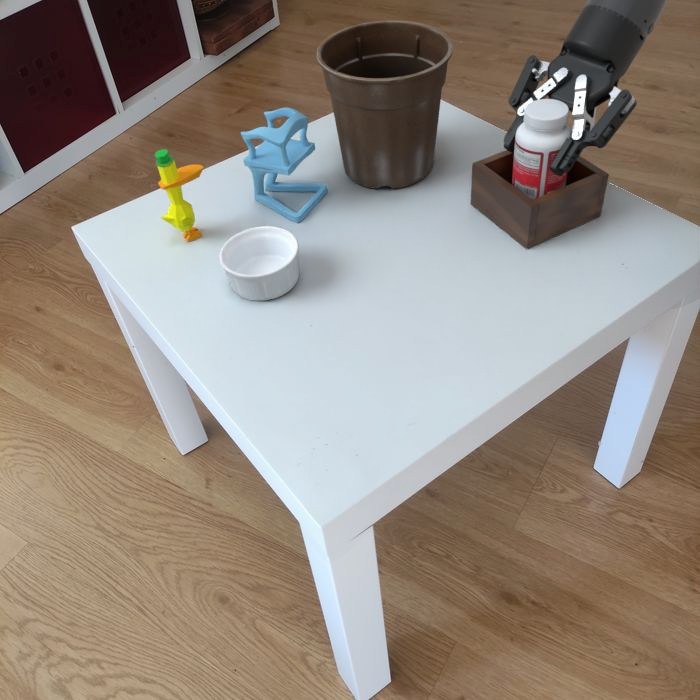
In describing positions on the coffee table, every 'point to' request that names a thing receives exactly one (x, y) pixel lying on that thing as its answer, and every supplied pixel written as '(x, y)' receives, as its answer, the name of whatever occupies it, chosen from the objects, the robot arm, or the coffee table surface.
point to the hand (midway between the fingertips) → (531, 161)
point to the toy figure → (178, 193)
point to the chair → (281, 161)
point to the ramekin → (261, 262)
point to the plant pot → (386, 98)
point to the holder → (542, 213)
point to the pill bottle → (540, 147)
